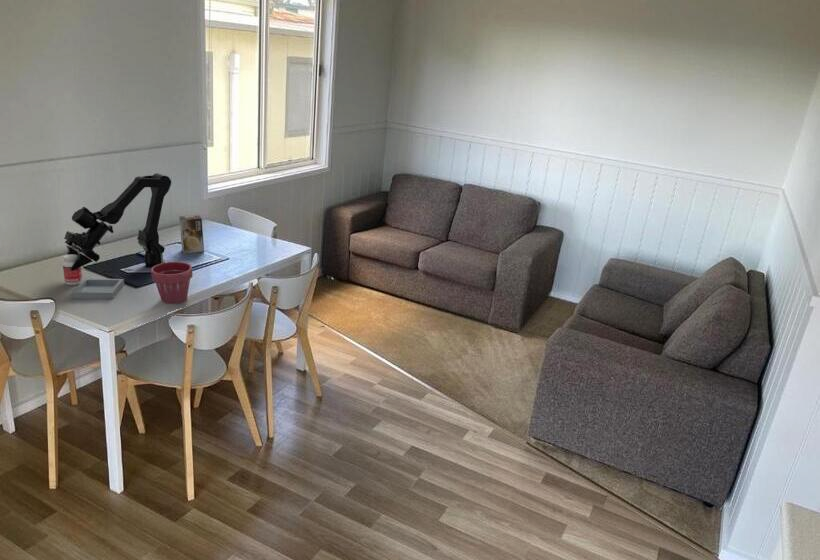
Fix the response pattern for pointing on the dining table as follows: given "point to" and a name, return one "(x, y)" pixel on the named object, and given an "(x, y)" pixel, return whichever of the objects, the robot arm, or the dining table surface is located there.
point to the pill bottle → (70, 275)
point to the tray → (97, 289)
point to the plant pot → (172, 281)
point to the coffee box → (191, 234)
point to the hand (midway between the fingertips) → (68, 267)
